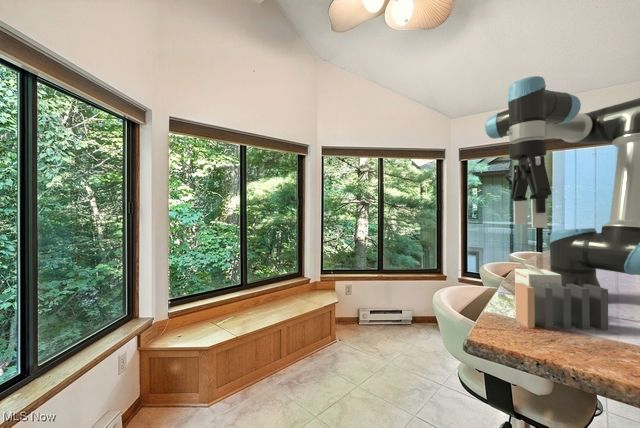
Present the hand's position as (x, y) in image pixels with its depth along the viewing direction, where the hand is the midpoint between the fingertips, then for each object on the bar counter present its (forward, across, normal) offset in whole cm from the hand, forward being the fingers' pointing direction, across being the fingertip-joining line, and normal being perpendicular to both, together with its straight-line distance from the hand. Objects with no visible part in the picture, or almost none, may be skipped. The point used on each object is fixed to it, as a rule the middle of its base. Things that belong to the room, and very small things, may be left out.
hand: (529, 226), depth 70 cm
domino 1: (+25, -1, -1) cm, 25 cm away
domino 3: (+26, -3, +7) cm, 27 cm away
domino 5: (+26, -5, +15) cm, 30 cm away
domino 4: (+26, -4, +11) cm, 28 cm away
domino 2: (+26, -2, +3) cm, 26 cm away
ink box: (+26, -14, +6) cm, 30 cm away
